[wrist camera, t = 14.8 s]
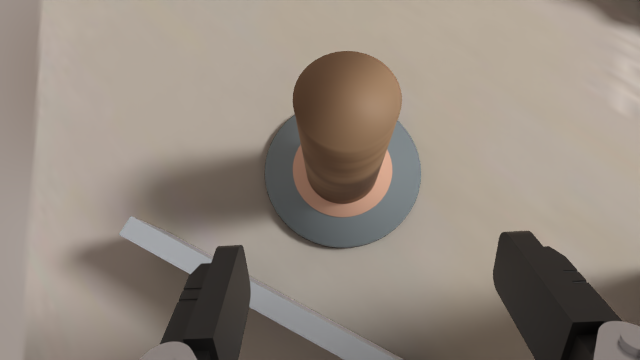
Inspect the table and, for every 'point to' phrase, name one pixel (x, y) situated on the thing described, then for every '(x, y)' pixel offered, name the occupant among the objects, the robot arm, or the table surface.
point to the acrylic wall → (261, 297)
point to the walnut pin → (345, 122)
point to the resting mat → (342, 219)
